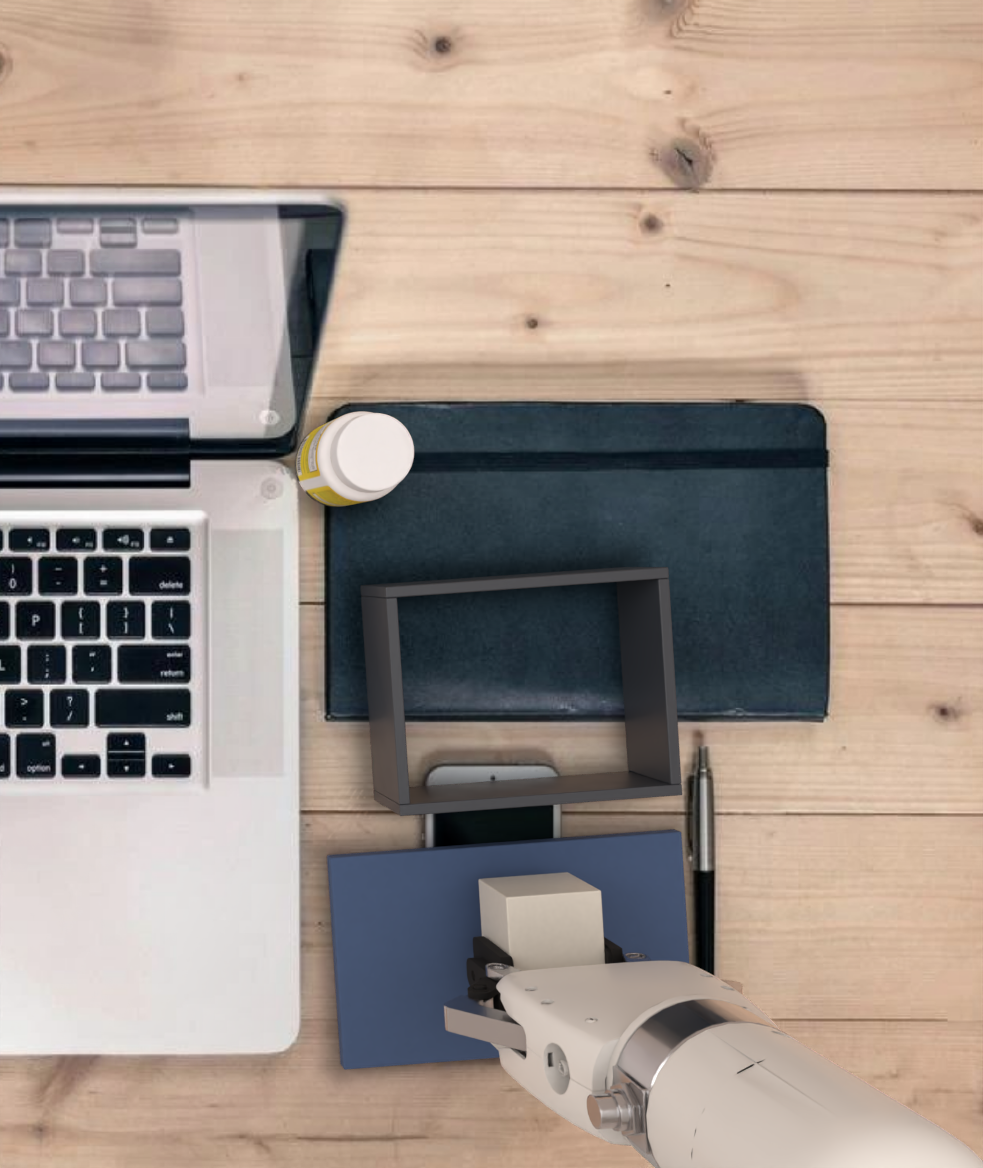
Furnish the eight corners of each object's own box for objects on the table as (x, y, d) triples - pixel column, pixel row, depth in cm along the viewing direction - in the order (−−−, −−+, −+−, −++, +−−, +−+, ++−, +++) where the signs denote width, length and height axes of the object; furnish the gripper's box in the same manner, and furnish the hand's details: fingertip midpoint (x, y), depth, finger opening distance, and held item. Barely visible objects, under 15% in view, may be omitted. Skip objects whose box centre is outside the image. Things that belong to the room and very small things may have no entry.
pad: (681, 1033, 76) (695, 1042, 75) (337, 1060, 76) (344, 1070, 74) (668, 826, 76) (682, 831, 75) (323, 852, 76) (330, 858, 74)
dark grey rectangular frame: (632, 778, 76) (682, 795, 71) (370, 798, 76) (400, 816, 70) (619, 566, 76) (668, 567, 70) (356, 585, 76) (385, 586, 70)
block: (577, 1034, 73) (611, 1061, 69) (487, 1041, 73) (516, 1069, 69) (568, 871, 73) (601, 890, 69) (477, 878, 72) (506, 897, 68)
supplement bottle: (389, 481, 75) (439, 470, 67) (318, 522, 75) (359, 517, 67) (347, 408, 75) (393, 388, 67) (276, 449, 75) (312, 434, 67)
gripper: (512, 1204, 54) (380, 1039, 72) (924, 1171, 54) (690, 1016, 72) (501, 1021, 54) (372, 903, 72) (914, 989, 54) (682, 879, 72)
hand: (533, 960), depth 72 cm, fingers closed on block, 5 cm apart
